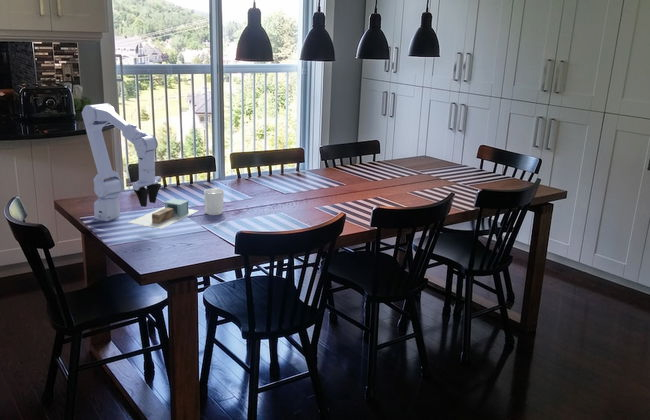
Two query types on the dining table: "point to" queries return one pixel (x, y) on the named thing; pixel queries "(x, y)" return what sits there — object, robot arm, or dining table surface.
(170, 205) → the teal block
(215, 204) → the white cup
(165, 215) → the slat
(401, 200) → the dining table surface
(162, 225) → the board
